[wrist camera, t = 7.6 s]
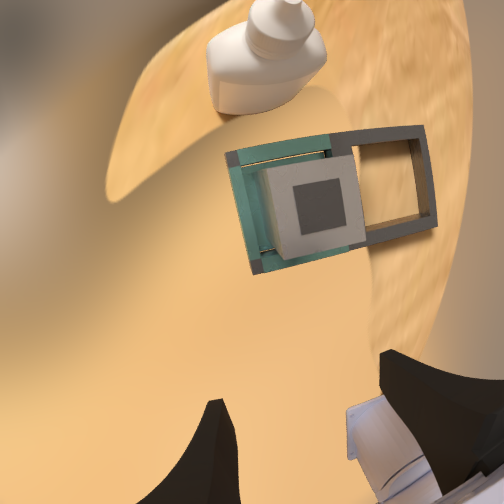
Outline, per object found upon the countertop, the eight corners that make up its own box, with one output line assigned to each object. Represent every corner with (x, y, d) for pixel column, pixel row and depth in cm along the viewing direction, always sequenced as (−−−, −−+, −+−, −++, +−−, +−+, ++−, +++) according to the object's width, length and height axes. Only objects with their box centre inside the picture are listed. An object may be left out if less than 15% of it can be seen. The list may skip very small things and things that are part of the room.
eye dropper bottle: (282, 132, 19) (360, 78, 8) (202, 109, 18) (183, 24, 7) (298, 77, 19) (377, -10, 7) (221, 55, 18) (228, -59, 6)
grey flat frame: (426, 223, 22) (438, 226, 20) (250, 268, 21) (253, 276, 20) (412, 127, 20) (424, 124, 19) (224, 154, 19) (224, 152, 18)
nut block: (327, 224, 21) (367, 241, 15) (265, 237, 21) (284, 260, 15) (316, 160, 20) (354, 154, 14) (252, 172, 20) (266, 168, 14)
